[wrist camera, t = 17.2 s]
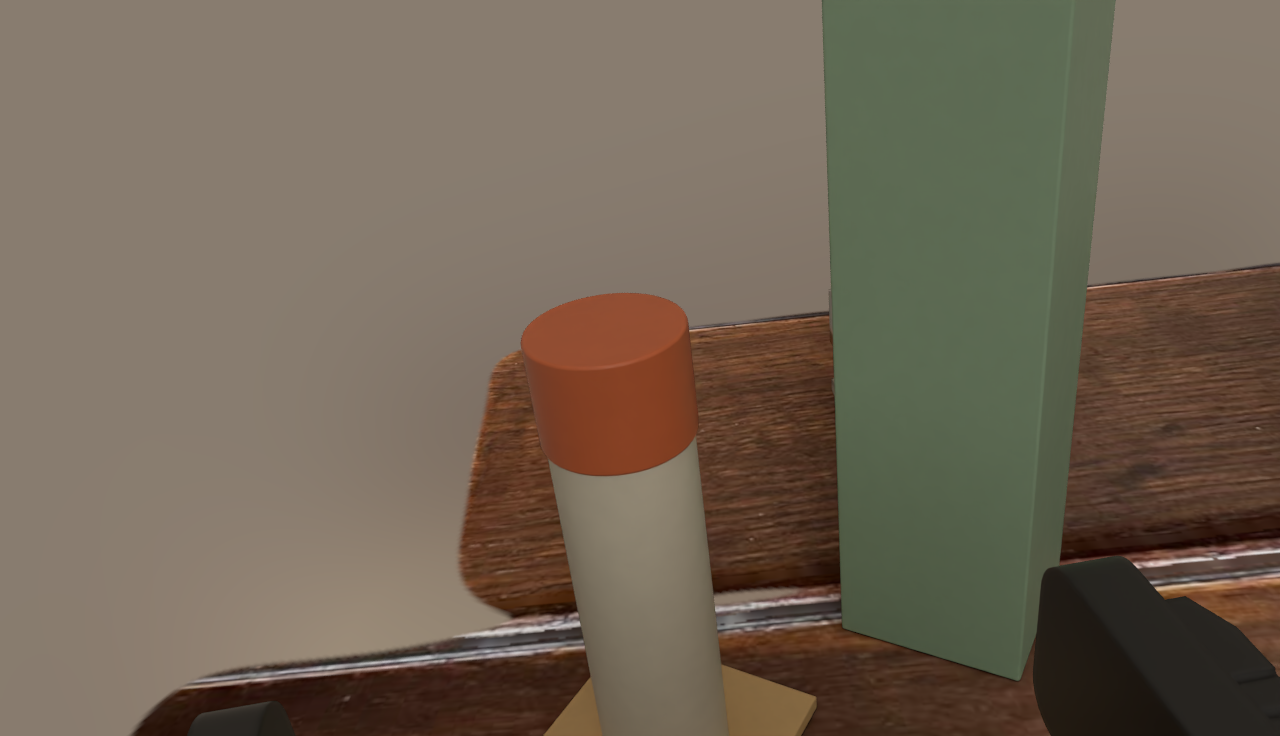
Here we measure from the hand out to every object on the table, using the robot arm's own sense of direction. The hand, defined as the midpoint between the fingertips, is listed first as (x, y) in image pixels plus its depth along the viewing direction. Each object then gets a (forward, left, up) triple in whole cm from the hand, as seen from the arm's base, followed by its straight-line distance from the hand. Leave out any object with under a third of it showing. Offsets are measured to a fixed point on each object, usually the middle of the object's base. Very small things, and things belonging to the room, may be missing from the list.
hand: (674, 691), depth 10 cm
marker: (+8, +6, -13) cm, 16 cm away
